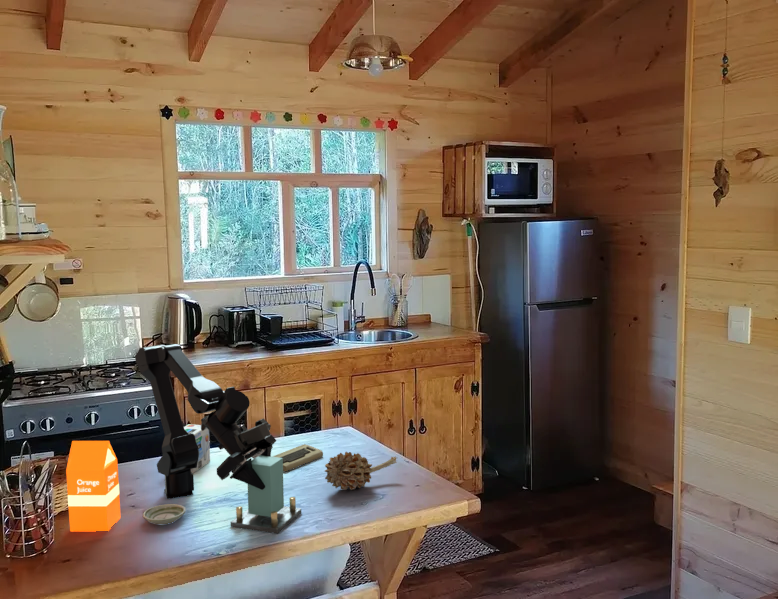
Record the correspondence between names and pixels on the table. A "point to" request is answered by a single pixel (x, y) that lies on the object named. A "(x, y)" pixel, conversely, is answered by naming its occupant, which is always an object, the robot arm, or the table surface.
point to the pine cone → (351, 470)
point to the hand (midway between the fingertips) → (270, 483)
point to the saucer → (164, 513)
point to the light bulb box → (200, 444)
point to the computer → (299, 456)
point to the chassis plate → (267, 519)
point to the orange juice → (92, 486)
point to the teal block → (267, 486)
